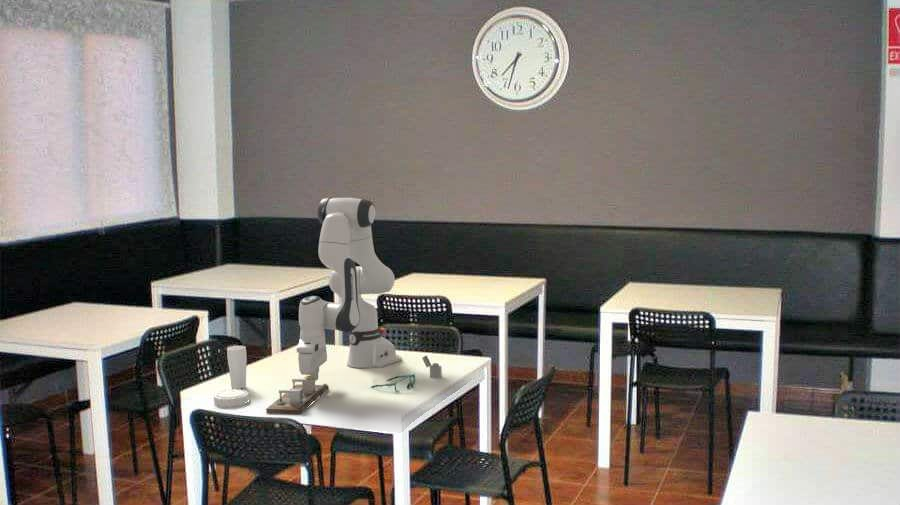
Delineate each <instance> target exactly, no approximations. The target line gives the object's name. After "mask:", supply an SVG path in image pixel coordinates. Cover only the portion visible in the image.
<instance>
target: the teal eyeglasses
mask: <svg viewBox="0 0 900 505" xmlns="http://www.w3.org/2000/svg"><path fill="white" fill-rule="evenodd" d="M408 378H409V383H408V384H407V386H406V390H410V389H411V388H414V385H416V383H415V382H416V374H415V373H413V374H405V375H397V376H394V377H391V378H389V379H386V382H390V381H393V380H396V379H399V380H397V381H395V382H392V383H385V384H384V383H383V384H375V385H372V386H370V388H372V389H373V388H378V387H379V388H381V387H393V386H394V391H395V392H396V393H397V392H399V390H397V383H398V382H401V381H403V380H406V379H408ZM412 378H413V381H412Z"/></svg>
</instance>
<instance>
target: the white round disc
mask: <svg viewBox="0 0 900 505" xmlns="http://www.w3.org/2000/svg"><path fill="white" fill-rule="evenodd" d="M248 400H249V401H250V392H249V391H248V390H244V389H233V388H232V389H224V390H222V391H219V392H217V393H215V394H214V395H213V401H214V402H213V404H214V405H215V406H216V407H220V408H235V407H240V406H244V405H246V404H245V402H247V401H248Z"/></svg>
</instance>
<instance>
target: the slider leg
mask: <svg viewBox="0 0 900 505" xmlns="http://www.w3.org/2000/svg"><path fill="white" fill-rule="evenodd" d="M291 382H292V388H293V389H295V385H296V382H297V383H301V384H302V387H303V394H313V393H314V392H315V385H316V381H315V378H312V376H310V375H305V376H304V378H292V379H291Z"/></svg>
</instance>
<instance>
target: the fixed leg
mask: <svg viewBox="0 0 900 505" xmlns="http://www.w3.org/2000/svg"><path fill="white" fill-rule="evenodd" d="M321 385H322V386H321V387H320V388H318V389H317V390H316V391H315V392H314V393H313V394H311V395H310V396H309V397H308V398H307V399H306V400H305V401H303V390H302V389H292V388H290V389H291V390H290V389H279V390H278V393H279V398H280V402H282V396H283V394H285V393H289V396H290V405H294V406H298V409H301V408H302V407H303V406H305V405H306V404H307V403H308V402H309V401H310V400H311V399H312V398H314V397H315V396H316V395H317V394H318V393H319V392H320V391H321V390H323V389H324V388H325V387H326V386H327V385H328V384H327V383H322V384H321Z"/></svg>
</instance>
